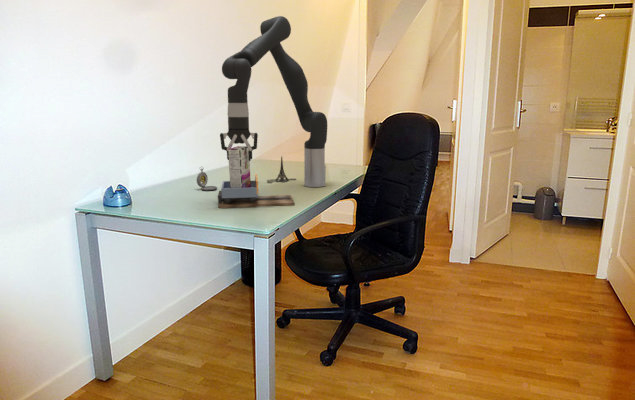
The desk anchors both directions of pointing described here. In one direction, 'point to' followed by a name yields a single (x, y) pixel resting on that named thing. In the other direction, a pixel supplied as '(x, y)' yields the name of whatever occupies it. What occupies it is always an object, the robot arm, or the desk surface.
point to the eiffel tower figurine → (280, 176)
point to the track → (256, 201)
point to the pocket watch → (204, 181)
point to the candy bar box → (239, 167)
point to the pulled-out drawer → (240, 191)
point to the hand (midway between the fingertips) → (239, 160)
